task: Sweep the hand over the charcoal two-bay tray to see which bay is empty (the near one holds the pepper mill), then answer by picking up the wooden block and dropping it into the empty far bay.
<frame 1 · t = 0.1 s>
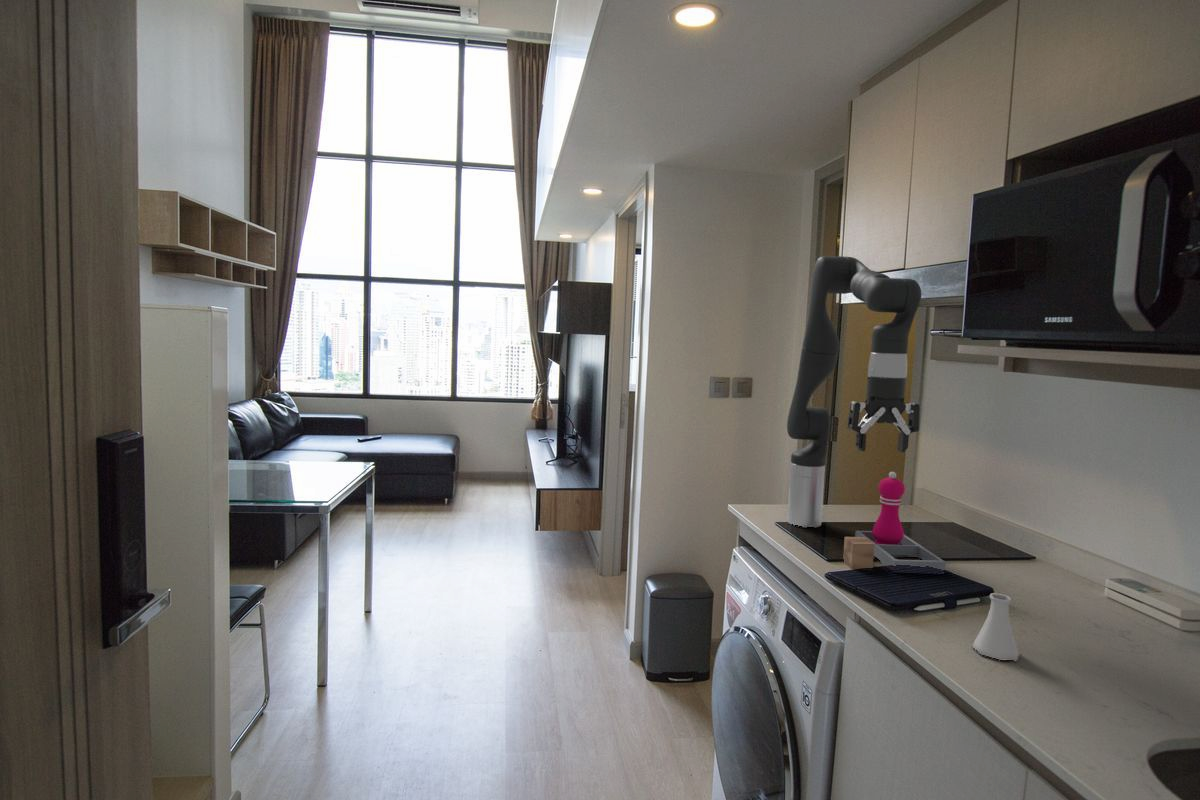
hand: (881, 451, 142), 29 cm above the worktop, tool pointing down, fingers open, 8 cm apart
flask: (995, 653, 115), on the worktop
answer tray: (896, 557, 163), on the worktop
pepper mill: (886, 550, 169), resting in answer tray
wooden block: (857, 565, 157), on the worktop
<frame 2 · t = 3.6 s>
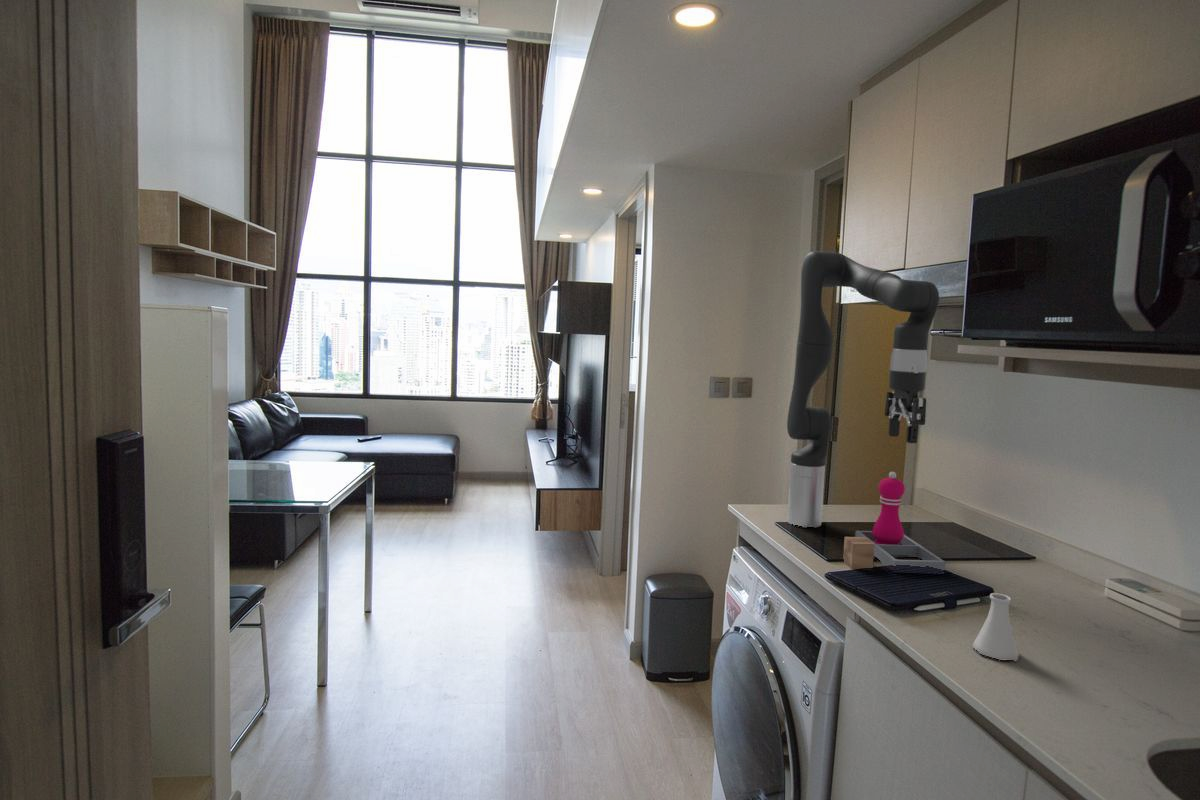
hand: (902, 439, 154), 30 cm above the worktop, tool pointing down, fingers open, 8 cm apart
nothing on the worktop moved.
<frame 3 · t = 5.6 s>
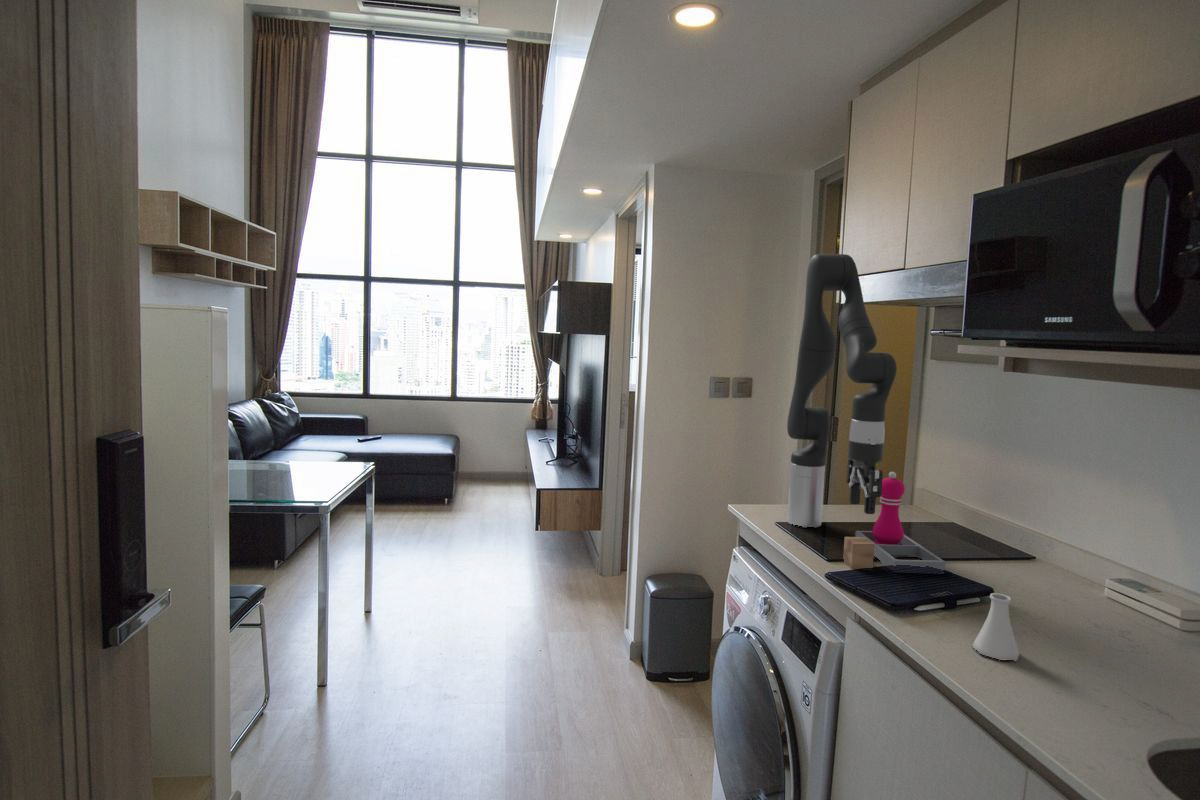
hand: (861, 508, 155), 14 cm above the worktop, tool pointing down, fingers open, 8 cm apart
nothing on the worktop moved.
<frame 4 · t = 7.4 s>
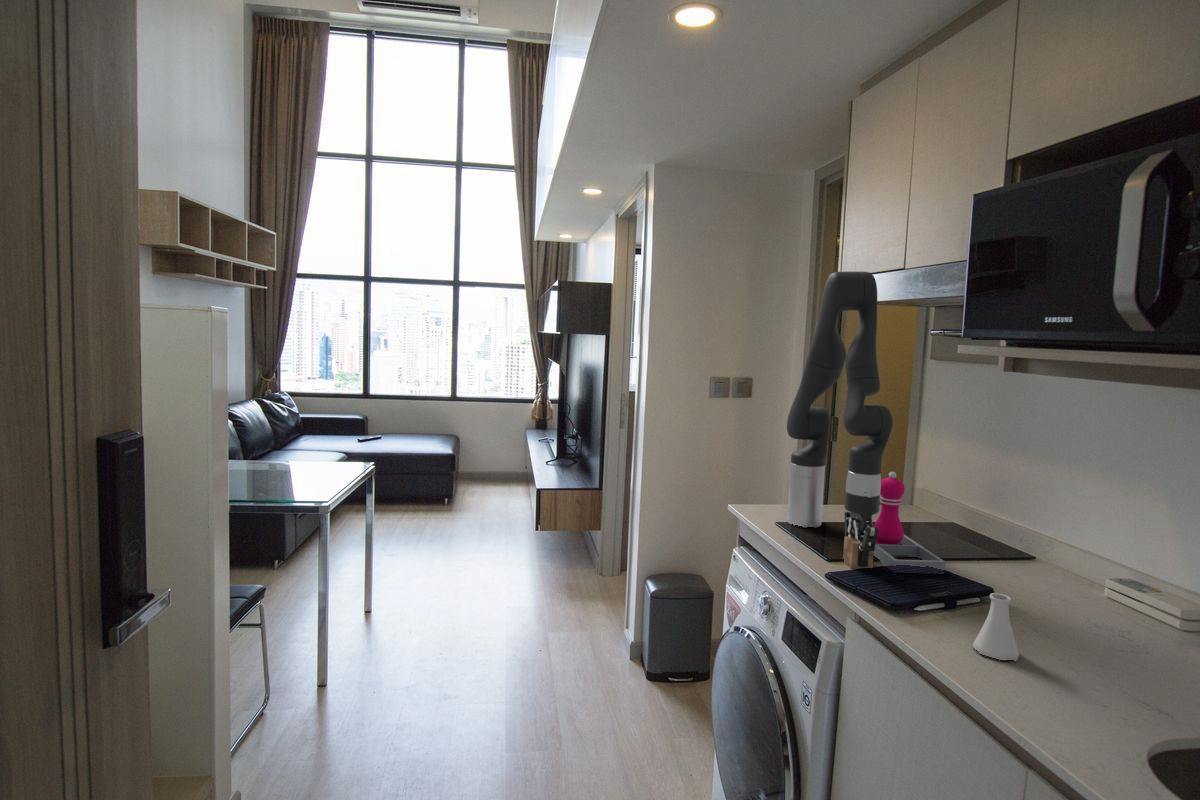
hand: (857, 561, 157), 1 cm above the worktop, tool pointing down, fingers closed on wooden block, 5 cm apart
wooden block: (857, 564, 157), on the worktop, touching gripper
everything else where it was.
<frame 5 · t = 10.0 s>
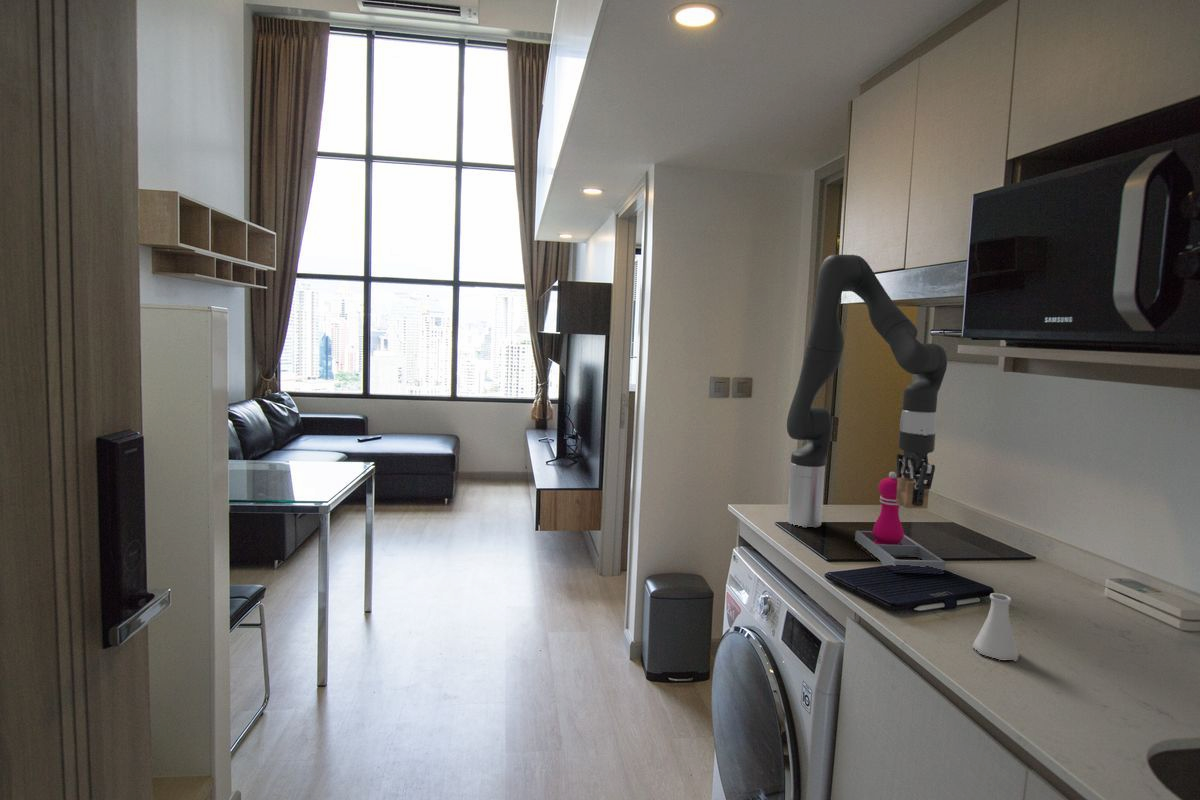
hand: (911, 502, 156), 15 cm above the worktop, tool pointing down, fingers closed on wooden block, 5 cm apart
wooden block: (911, 505, 156), point 14 cm above the worktop, touching gripper
everything else where it was.
when the fingers open (3 cm above the worktop, at t = 12.6 s): wooden block drops 2 cm, resting in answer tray.
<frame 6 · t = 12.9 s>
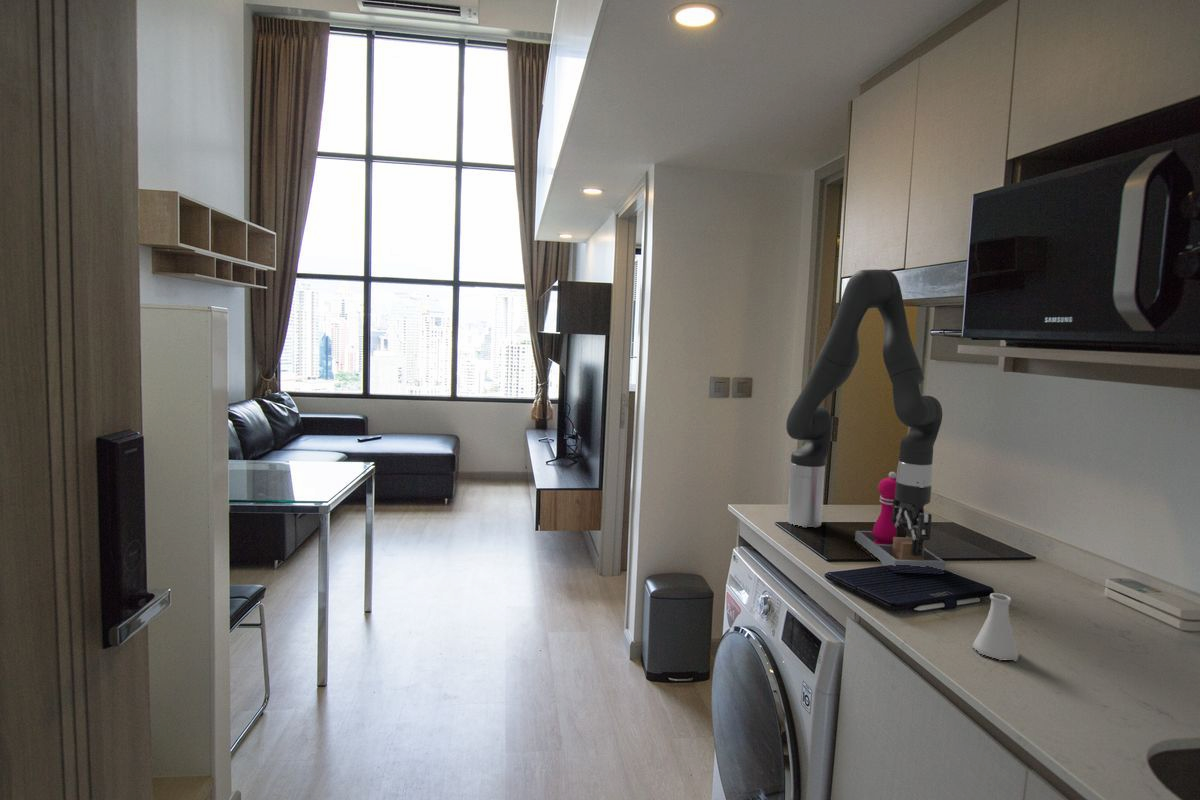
hand: (908, 549, 157), 4 cm above the worktop, tool pointing down, fingers open, 7 cm apart
wooden block: (906, 565, 158), resting in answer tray
everything else where it was.
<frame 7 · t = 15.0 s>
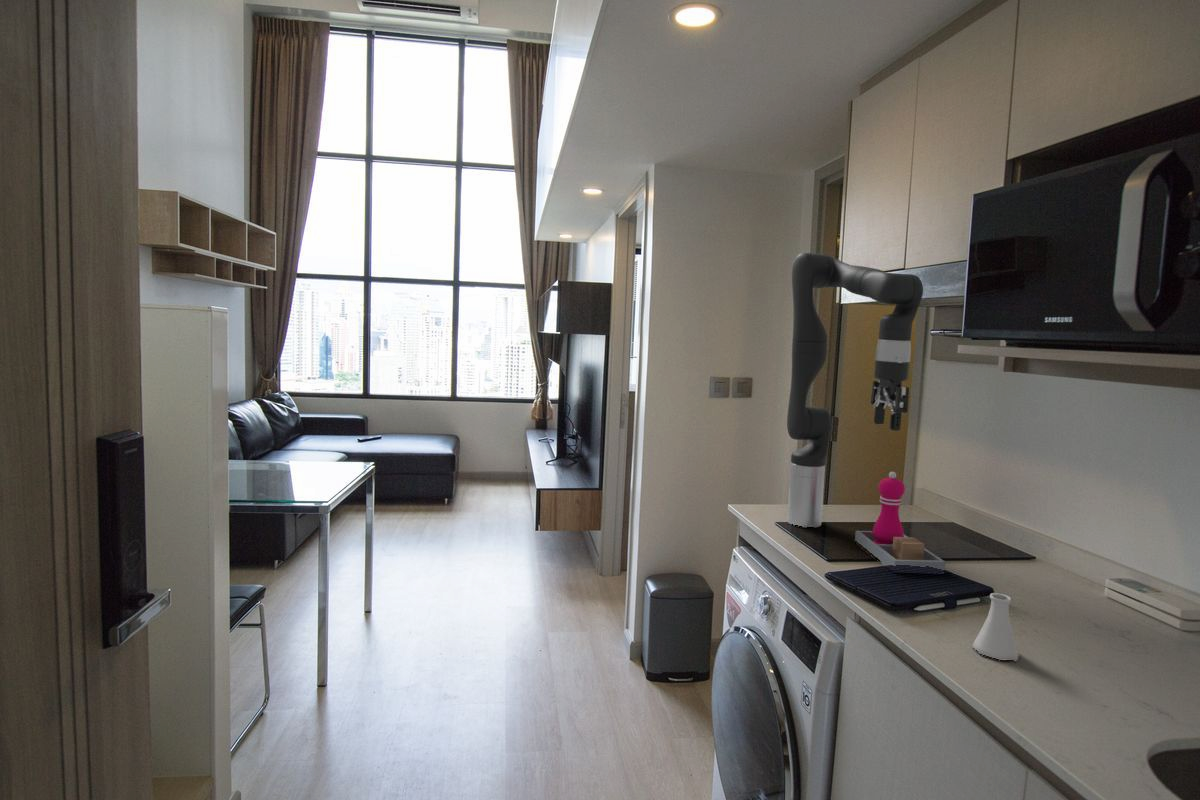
hand: (886, 426, 161), 32 cm above the worktop, tool pointing down, fingers open, 8 cm apart
nothing on the worktop moved.
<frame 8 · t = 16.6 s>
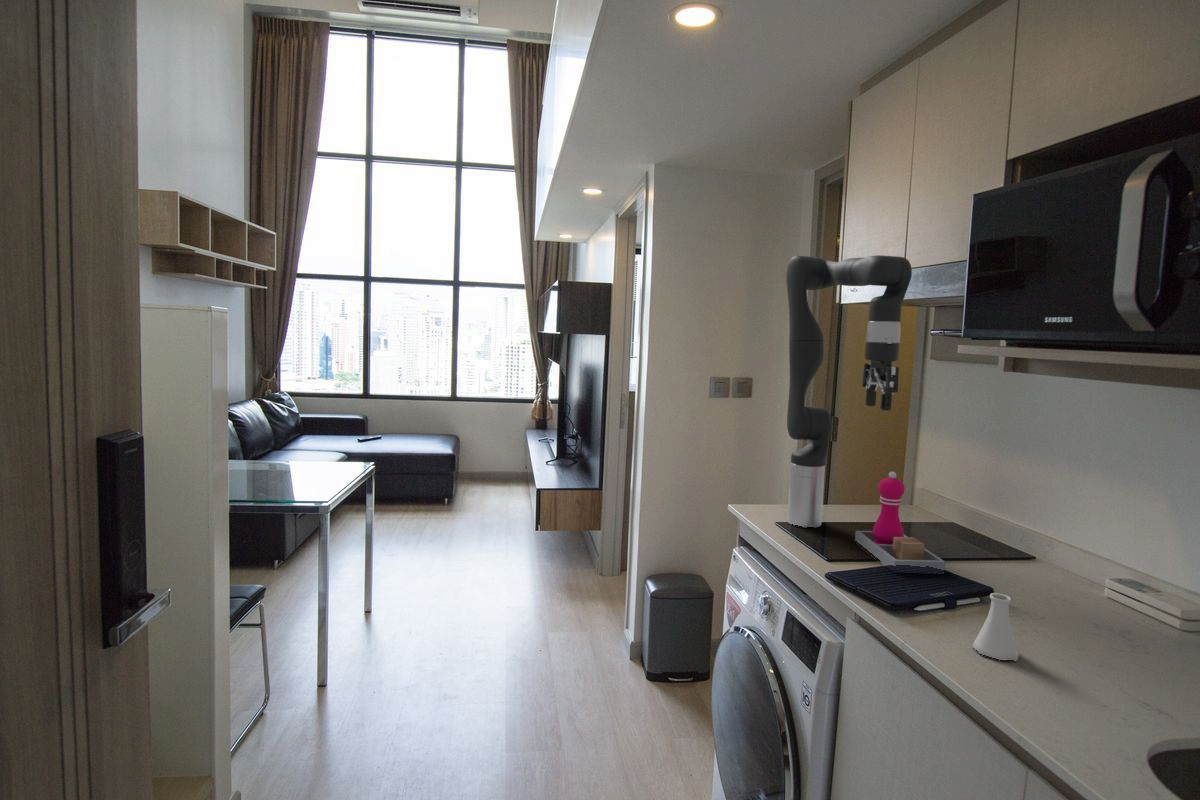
hand: (877, 408, 162), 36 cm above the worktop, tool pointing down, fingers open, 8 cm apart
nothing on the worktop moved.
at the end: wooden block inside the target area on the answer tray (0.1 cm from its centre), point 0.0 cm above the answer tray's base; the gripper is holding nothing; pepper mill moved 0.2 cm from its start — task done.
